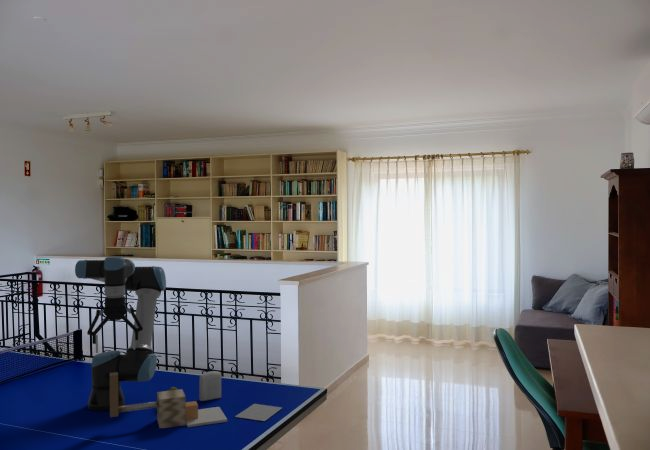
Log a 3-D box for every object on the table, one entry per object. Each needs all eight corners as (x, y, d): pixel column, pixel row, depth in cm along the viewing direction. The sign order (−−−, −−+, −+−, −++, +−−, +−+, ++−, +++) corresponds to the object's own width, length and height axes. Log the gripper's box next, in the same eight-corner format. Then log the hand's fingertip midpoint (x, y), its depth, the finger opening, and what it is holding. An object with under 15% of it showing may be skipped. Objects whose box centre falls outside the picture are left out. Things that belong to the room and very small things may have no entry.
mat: (187, 427, 215) (187, 424, 215) (182, 414, 230) (182, 411, 230) (227, 421, 221) (227, 419, 221) (219, 408, 236) (219, 406, 236)
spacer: (185, 420, 220) (185, 406, 220) (183, 415, 225) (183, 402, 225) (198, 418, 222) (197, 405, 222) (196, 414, 227) (195, 401, 227)
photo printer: (219, 395, 254) (219, 368, 254) (222, 398, 250) (222, 371, 250) (197, 399, 248) (197, 372, 248) (201, 402, 245) (201, 374, 245)
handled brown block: (110, 417, 210) (109, 375, 210) (109, 413, 214) (109, 373, 213) (179, 408, 220) (179, 368, 220) (178, 405, 223) (177, 366, 223)
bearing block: (159, 428, 214) (159, 399, 214) (157, 419, 223) (156, 392, 223) (185, 424, 218) (185, 396, 218) (182, 416, 227) (182, 389, 227)
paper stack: (214, 415, 229) (214, 413, 229) (244, 397, 252) (244, 395, 252) (264, 422, 221) (264, 421, 221) (290, 403, 244) (290, 401, 244)
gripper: (79, 299, 205) (80, 355, 206) (149, 295, 215) (149, 349, 215) (80, 296, 212) (81, 351, 213) (147, 293, 222) (148, 345, 222)
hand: (115, 350), depth 214 cm, fingers open, 13 cm apart
